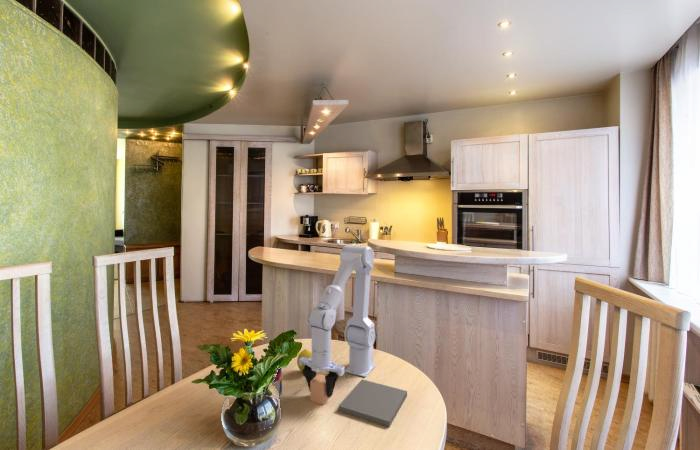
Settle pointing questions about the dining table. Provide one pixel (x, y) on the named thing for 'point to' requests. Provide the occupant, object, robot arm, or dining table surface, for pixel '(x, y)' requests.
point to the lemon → (303, 354)
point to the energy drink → (278, 381)
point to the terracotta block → (318, 389)
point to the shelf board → (374, 402)
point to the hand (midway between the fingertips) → (321, 393)
